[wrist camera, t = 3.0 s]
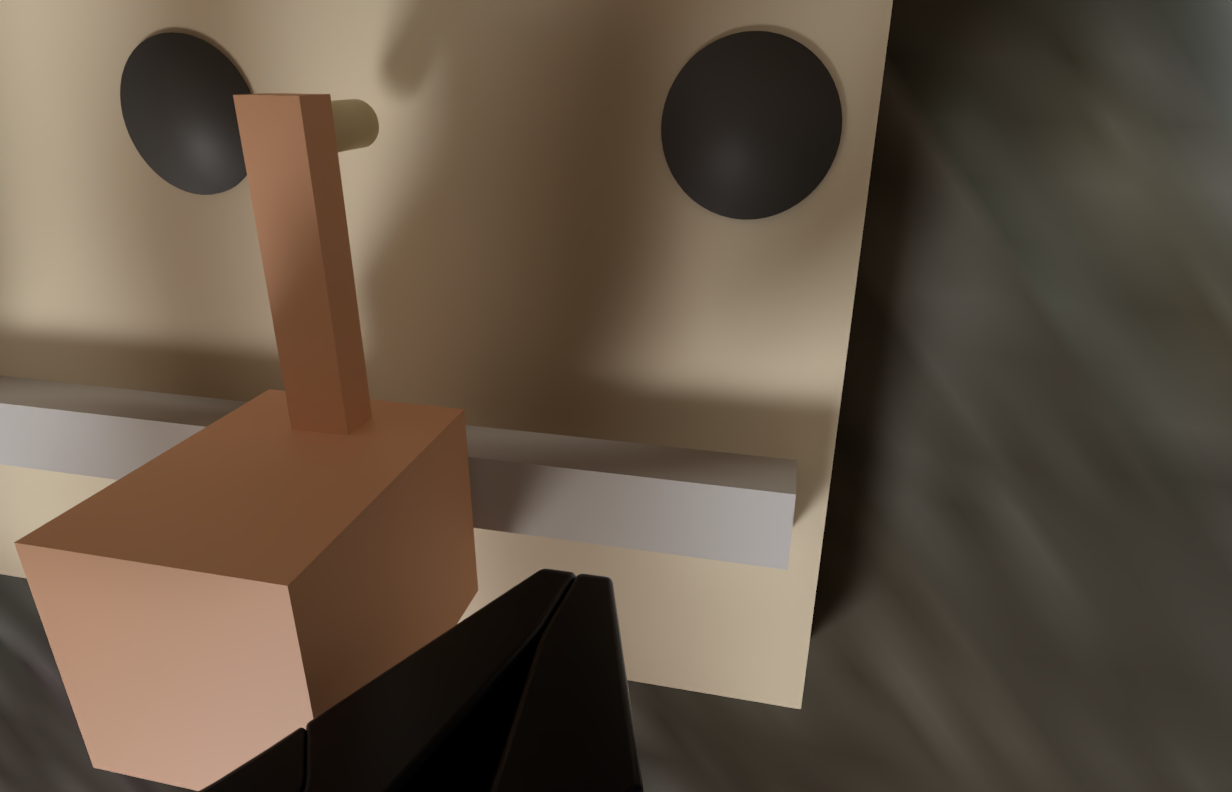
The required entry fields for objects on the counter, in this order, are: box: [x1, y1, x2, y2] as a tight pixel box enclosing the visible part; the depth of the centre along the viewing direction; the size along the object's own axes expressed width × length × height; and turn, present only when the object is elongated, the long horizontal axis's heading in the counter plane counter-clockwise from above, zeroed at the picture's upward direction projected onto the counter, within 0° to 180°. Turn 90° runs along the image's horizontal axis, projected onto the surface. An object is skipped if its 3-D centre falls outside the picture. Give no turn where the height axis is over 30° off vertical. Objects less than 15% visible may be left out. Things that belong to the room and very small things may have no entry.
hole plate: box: [0, 0, 893, 709], centre depth 11 cm, size 19×11×6 cm, turn 91°
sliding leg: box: [14, 93, 478, 791], centre depth 9 cm, size 3×7×5 cm, turn 1°
